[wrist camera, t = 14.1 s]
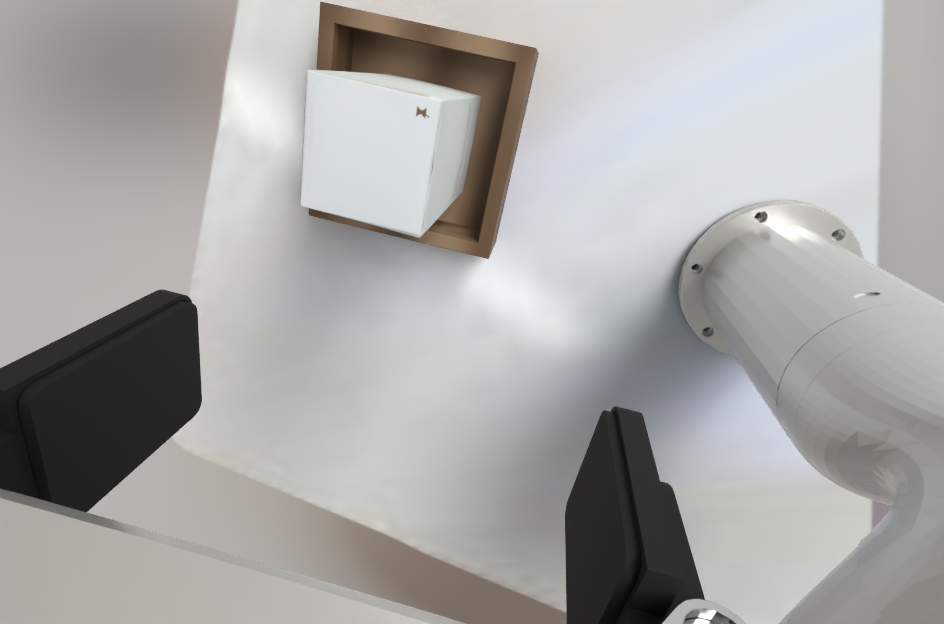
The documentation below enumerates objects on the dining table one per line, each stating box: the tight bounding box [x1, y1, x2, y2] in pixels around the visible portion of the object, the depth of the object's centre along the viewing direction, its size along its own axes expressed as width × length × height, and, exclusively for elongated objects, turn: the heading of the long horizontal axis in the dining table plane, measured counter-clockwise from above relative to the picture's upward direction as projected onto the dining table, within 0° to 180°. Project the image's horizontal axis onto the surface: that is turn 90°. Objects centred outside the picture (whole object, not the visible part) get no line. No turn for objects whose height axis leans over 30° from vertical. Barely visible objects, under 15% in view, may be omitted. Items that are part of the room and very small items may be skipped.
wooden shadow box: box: [309, 2, 539, 259], centre depth 36 cm, size 14×14×4 cm
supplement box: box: [300, 70, 481, 238], centre depth 31 cm, size 7×7×13 cm
